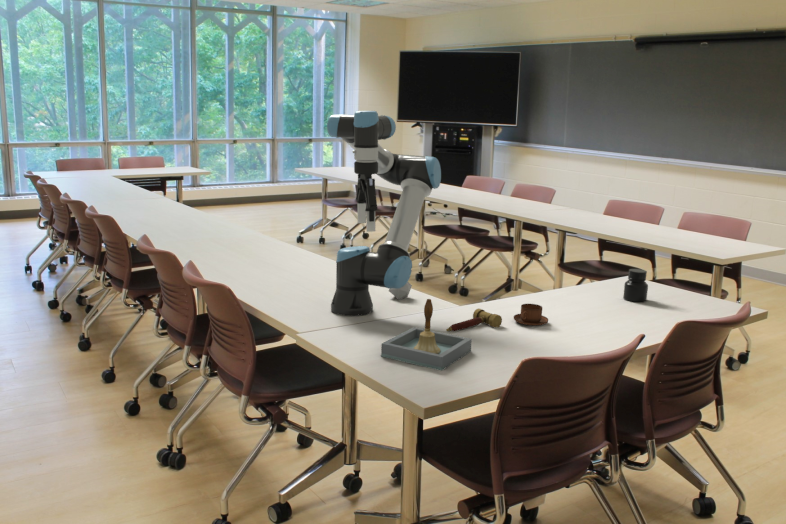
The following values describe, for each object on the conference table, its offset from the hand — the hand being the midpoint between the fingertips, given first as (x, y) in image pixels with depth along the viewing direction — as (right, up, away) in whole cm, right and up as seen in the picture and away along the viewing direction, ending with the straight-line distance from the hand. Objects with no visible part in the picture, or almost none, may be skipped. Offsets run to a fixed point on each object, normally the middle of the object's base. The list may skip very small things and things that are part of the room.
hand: (366, 227), depth 228 cm
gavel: (+35, -34, +13) cm, 50 cm away
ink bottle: (+106, -27, +56) cm, 122 cm away
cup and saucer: (+57, -33, +20) cm, 69 cm away
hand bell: (+19, -38, -15) cm, 45 cm away
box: (+19, -39, -15) cm, 46 cm away
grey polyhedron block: (+11, -25, +47) cm, 55 cm away
